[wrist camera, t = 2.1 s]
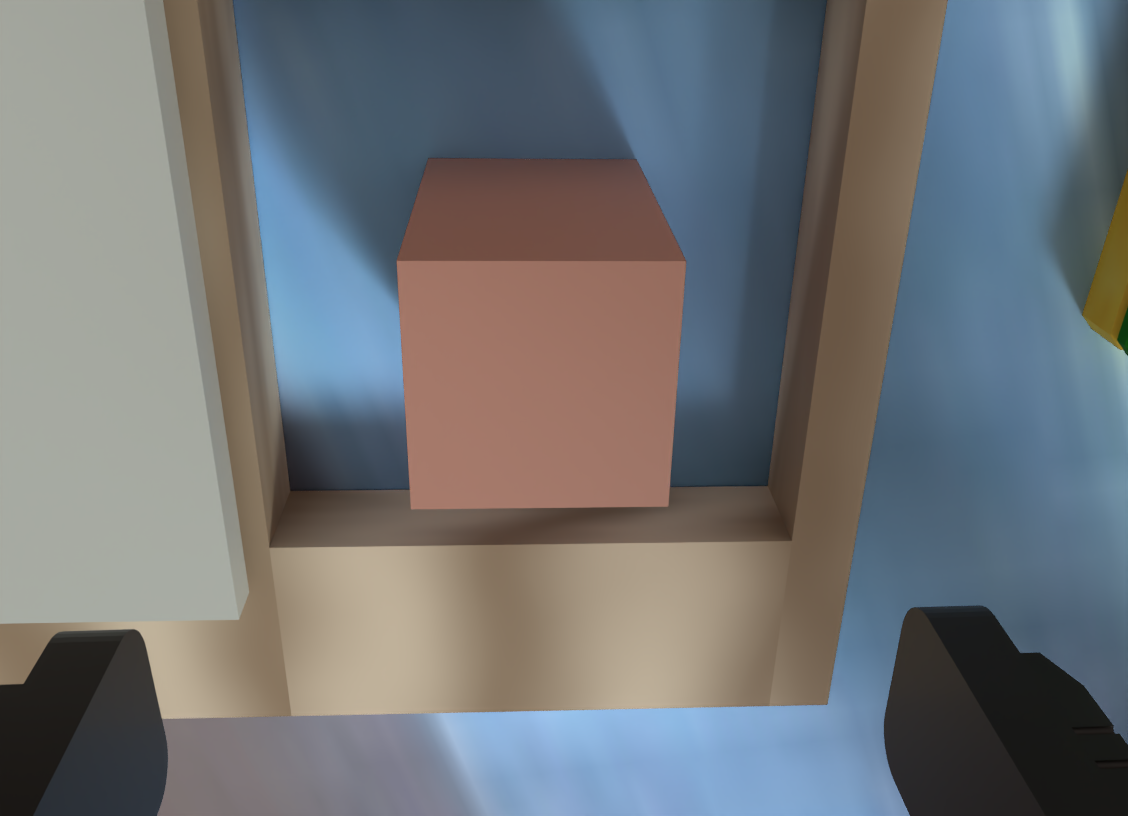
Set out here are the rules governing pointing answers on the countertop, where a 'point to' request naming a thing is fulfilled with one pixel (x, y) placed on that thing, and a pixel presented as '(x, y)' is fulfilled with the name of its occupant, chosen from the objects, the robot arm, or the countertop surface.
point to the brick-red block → (539, 335)
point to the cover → (105, 332)
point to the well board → (551, 535)
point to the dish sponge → (1112, 281)
